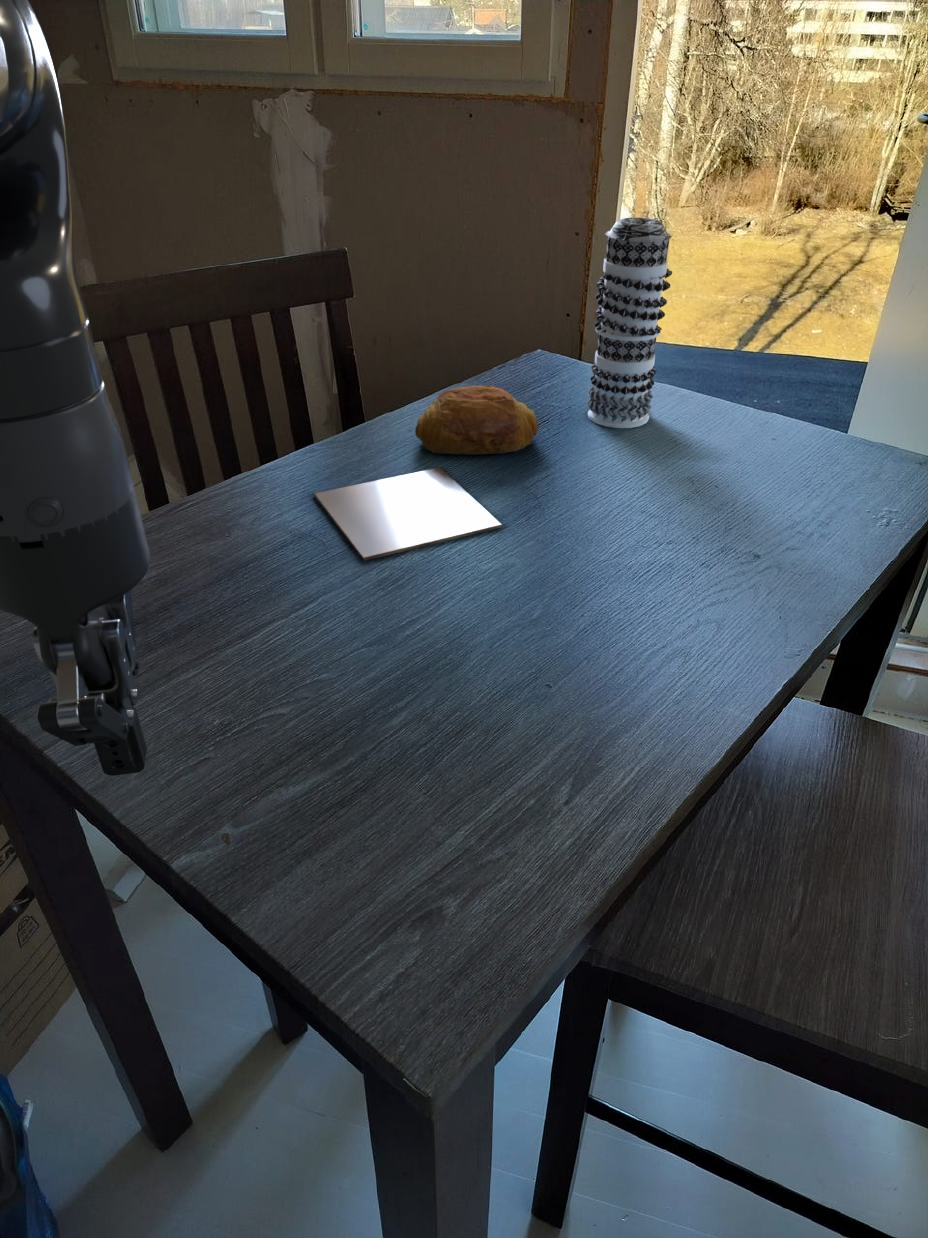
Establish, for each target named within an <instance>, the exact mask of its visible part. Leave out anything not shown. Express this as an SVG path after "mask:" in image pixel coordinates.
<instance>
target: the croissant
mask: <svg viewBox="0 0 928 1238" xmlns="http://www.w3.org/2000/svg"><path fill="white" fill-rule="evenodd" d="M416 422H417V423H416V426H415V430H414V432H415V433H414V434H415V437H416V438H417V439H419V440H420V441H421V443H422V445H423V448H425V449H426V450H428V451H429V452H431V453H435V454H447V455H449V454H450V455H489V454H490V455H492V454H493V455H494V454H506V453H508V452H517V451H519V450H522V449H525V448H526V446H529V445H531V444H532V443H533V441H534V437H536V436H537V434H538V431H539V422H538V418H537V415H536V413H535V410H533V409H530V408H529V407H528V406H527V404H525V403H523V402H521V401H518V400H516V398H515V397H513V395H512V394H510V393H509V392H507V391H506V390H505V388H504V389H503V388H502V387H501V388H500V387H497V386H493V385H488V384H486V385H467V386H461V387H456V388H455V387H454V388H451V389H449V390H443V391H442V392H441V393H439V395H438V396H437V397H436V399H435V400H433V402H432V403H431V404H430V405H429V406H428V407H427V408H426V409H425V411H424V413H423V414H421V415H420V416H419V418H418V419H417V421H416Z"/></svg>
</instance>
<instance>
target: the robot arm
mask: <svg viewBox="0 0 928 1238" xmlns="http://www.w3.org/2000/svg"><path fill="white" fill-rule="evenodd" d="M68 155H69V154H68V145H67V134H66V126H65V117H64V112H63V105H62V99H61V93H60V87H59V84H58V79H57V74H56V70H55V67H54V62H53V59H52V55H51V52H50V50H49V46H48V44H47V40H46V37H45V34H44V31H43V29H42V27H41V24H40V22H39V20H38V17H37V15H36V13H35V11H34V9H33V8H32V6H31V4H30V2H29V0H0V611H3V612H5V613H8V614H11V615H14V616H16V617H19V618H22V619H24V620H26V621H28V622H30V623H32V624H33V625H35V627H33V629H32V633H31V640H32V646H33V648H34V651H35V654H36V657H37V659H38V661H39V662H40V663H41V664H42V665H44V667H45V668H46V669H47V670H48V672H49V675H50V678H51V680H52V683H53V687H54V688H55V691H56V697H53V698H52V697H51V698H49V699H48V703H41V704H40V705H39V707H38V713H37V722H38V723H39V726H40V728H41V730H42V731H44V732H46V733H47V734H50V735H52V736H54V737H56V738H58V739H59V740H62V741H64V742H66V743H68V744H69V745H72V746H74V747H80V746H86V745H88V744H89V745H90V744H93V745H94V748H95V752H96V754H97V757H98V761H99V762H100V767H101V769H102V772H103V773H104V774H105V775H107V776H110V777H111V776H112V777H113V776H122V775H130V774H137V773H140V772H142V771H143V770H144V769H145V765H146V759H147V753H148V752H147V751H148V746H147V743H146V740H145V736H144V732H143V728H142V725H141V722H140V718H139V715H138V711H137V707H136V706H137V703H138V699H139V690H138V689H137V687H136V681H135V678H134V676H138V675H139V669H140V660H139V659H138V650H137V641H136V630H135V621H134V611H133V610H134V609H133V599H132V590H133V589H134V588H135V587H137V585H139V584H140V583H141V581H142V580H143V579H144V577H145V576H146V575H147V572H148V570H149V567H150V562H151V553H150V549H149V548H150V547H149V545H148V540H147V537H146V532H145V526H144V522H143V518H142V514H141V510H140V505H139V501H138V497H137V493H136V489H135V484H134V479H133V475H132V469H131V467H130V461H129V458H128V454H127V450H126V445H125V440H124V437H123V433H122V430H121V426H120V424H119V421H118V418H117V415H116V413H115V409H114V408H113V405H112V403H111V400H110V398H109V395H108V392H107V389H106V385H105V382H104V379H103V375H102V370H101V365H100V361H99V358H98V357H99V356H98V353H97V350H96V345H95V340H94V336H93V332H92V327H91V323H90V320H89V314H88V311H87V307H86V303H85V299H84V296H83V293H82V290H81V287H80V284H79V281H78V276H77V272H76V267H75V253H74V252H75V251H74V220H73V219H74V218H73V217H74V216H73V205H72V191H71V190H72V189H71V181H70V180H71V179H70V168H69V156H68Z"/></svg>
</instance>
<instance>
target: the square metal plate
mask: <svg viewBox="0 0 928 1238" xmlns="http://www.w3.org/2000/svg"><path fill="white" fill-rule="evenodd" d="M313 495H314V497H315V499H316V500H317V501H318V503H319V504H320V505H321V507H322V508H323V509H324V511H325V512H326V514H328V516H329V518H331V520H332V521H333V523H334V524H335V526H336V527H337V528H338V529H339V530H340V532H341V534H343V536H344V537H345V539H346V540H347V541H348V542H349V544H350V546H352V548H353V549H354V550H355V552H356V553H357V554H358V555H359V557H360V558H361V559H362V561H363V562H365V561H371V560H374V559H377V558H381V557H386V556H390V555H394V554H398V553H404V552H407V551H411V550H414V549H415V550H416V549H419V548H423V547H427V546H431V545H437V544H440V543H443V542H448V541H451V540H455V539H460V538H465V537H469V536H473V535H476V534H477V535H478V534H481V533H484V532H485V533H486V532H489V531H494V530H497V529H501V528H503V524H502V523H501V522H500V521H499V520H498V519H497V518H496V517H494V516H493V515H492V514H491V513H490V512H489V511H488V510H487V509H486V508H485V507H484V506H483V505H482V504H480V503H479V502H478V501H477V500H476V499H475V498H474V497H473V496H472V495H471V494H470V493H468V492H467V490H465V489H464V488H463V487H462V486H461V485H460V484H459V483H458V482H456V480H455V479H453V478H452V476H450V475H449V474H448V473H447V472H446V471H445V470H443V469H442V468H441V467H440V466H439V467H435V468H430V469H425V470H420V471H416V472H410V473H405V474H401V475H396V476H391V477H386V478H381V479H377V480H371V481H367V482H362V483H358V484H353V485H348V486H343V487H337V488H334V489H328V490H324V491H318V492H314V494H313Z"/></svg>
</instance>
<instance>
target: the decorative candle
mask: <svg viewBox="0 0 928 1238" xmlns="http://www.w3.org/2000/svg"><path fill="white" fill-rule="evenodd" d="M604 235H605V236H606V237H607V244H606V256H605V258H603V268H602V272H603V276H601V277H600V278H599V279H598V282H597V283H596V287H597V291H598V293H597V294H596V295H595V299H596V303H597V305H599V306H598V307H597V309H596V311H595V312H594V314H595V316H596V322H595V323H594V325H593V326H594V327H595V329H594V330H595V332H596V333H597V335H598V339H597V349H596V351H594V352H595V353H594V362H593V364H592V365H591V367H590V368H591V371H592V373H593V375H591V377H590V381H591V384H592V386H591V387H590V388H589V390H588V395H589V399H588V401H587V405H588V408H589V410H588V411H587V416H588V419H589V420H590V421H591V422H593V423H595V424H597V425H600V426H603V427H608V428H614V429H632V428H637V427H641V426H644V425H645V424H647V423H648V421H649V419H650V414H649V413H650V410H651V409H652V405H651V404H650V403H651V402H652V399H653V397H654V395H653V393H652V388H653V386H654V385H655V380H653V378H654V377H655V375H656V373H657V369H656V368H655V360H656V353H655V352H656V344H657V338H658V337H659V336H660V334H662V333H661V332H662V330H663V329H662V327H661V326H659V324H658V321H660V320H663V318H665V316H666V313H665V312H664V310H663V309H662V308H663V307H665V306H666V305H667V304H668V300H667V298H665V297H664V296H663V295H662V292H663V293H664V292H666V291H667V290H668V289H670V288H671V283H670V282H668V280H667V279H668V278H669V277H671V276H672V274H673V270H670V269H669V268H668V263H669V261H668V253H669V246H670V239H671V238H672V237H673V235H671V233H670V232H668V231H667V230H666V226H665V225H664V223H663V222H662V221H660V220H658V219H655V218H650V217H625V218H621V219H618V220H616V222H615V223H614V224H613V226H612V228H611V229H610V230H607V231H606V232H604Z"/></svg>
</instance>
